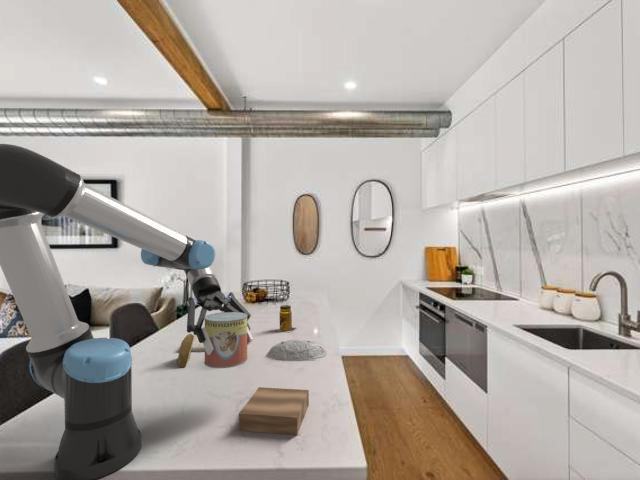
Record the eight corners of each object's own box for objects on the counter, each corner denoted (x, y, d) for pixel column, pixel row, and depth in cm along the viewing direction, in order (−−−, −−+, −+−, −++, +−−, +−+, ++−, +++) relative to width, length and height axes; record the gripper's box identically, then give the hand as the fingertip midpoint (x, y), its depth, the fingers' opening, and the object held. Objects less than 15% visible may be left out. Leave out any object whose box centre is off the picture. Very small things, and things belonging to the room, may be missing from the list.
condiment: (276, 331, 163) (276, 306, 163) (284, 327, 171) (283, 303, 171) (289, 332, 161) (289, 307, 161) (297, 328, 169) (296, 304, 169)
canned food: (203, 370, 83) (203, 322, 83) (205, 355, 94) (205, 313, 94) (249, 365, 86) (249, 319, 87) (246, 352, 97) (246, 310, 97)
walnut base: (297, 435, 76) (297, 417, 76) (239, 430, 78) (238, 413, 78) (308, 404, 90) (308, 390, 90) (259, 401, 92) (258, 387, 92)
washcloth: (220, 339, 153) (220, 332, 153) (209, 352, 135) (209, 345, 135) (193, 340, 152) (193, 333, 152) (179, 353, 134) (179, 346, 134)
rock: (190, 362, 116) (205, 349, 126) (175, 343, 117) (191, 331, 126) (170, 378, 119) (187, 364, 129) (155, 359, 119) (173, 346, 129)
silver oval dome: (329, 360, 123) (328, 341, 123) (261, 364, 123) (261, 345, 123) (328, 350, 138) (327, 334, 139) (268, 354, 138) (267, 338, 139)
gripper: (234, 287, 110) (262, 344, 99) (159, 295, 93) (183, 365, 82) (243, 272, 106) (272, 330, 95) (167, 278, 89) (192, 349, 78)
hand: (231, 346), depth 89 cm, fingers closed on canned food, 11 cm apart
